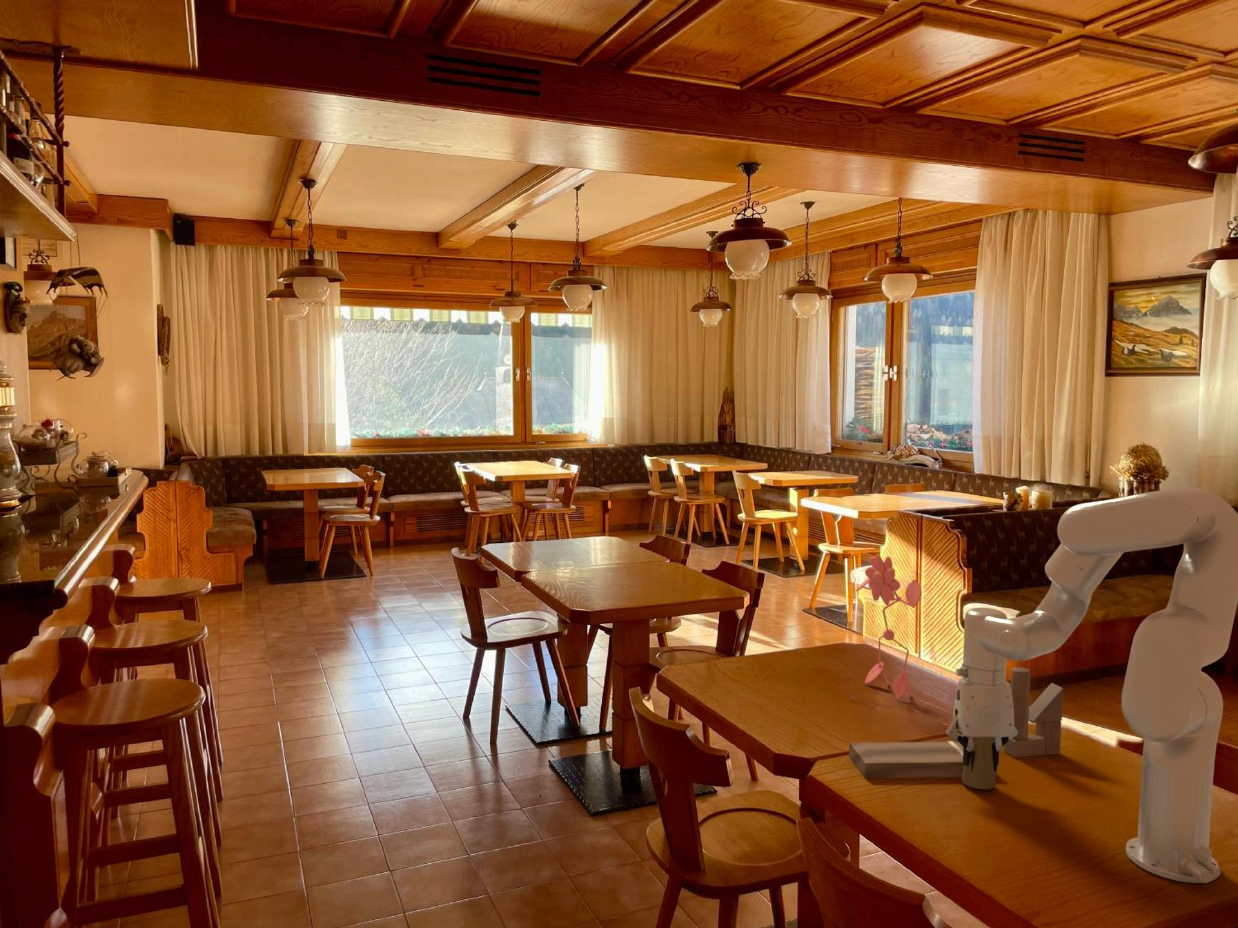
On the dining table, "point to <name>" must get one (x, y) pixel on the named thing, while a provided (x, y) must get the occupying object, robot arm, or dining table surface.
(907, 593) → the pink wire flower
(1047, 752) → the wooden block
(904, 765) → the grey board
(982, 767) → the olive green peg figure
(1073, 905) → the dining table surface
